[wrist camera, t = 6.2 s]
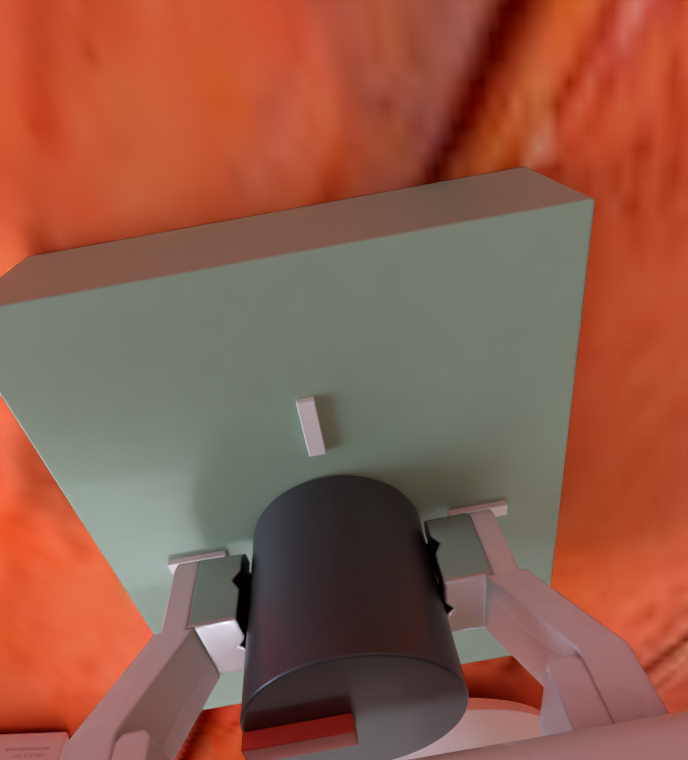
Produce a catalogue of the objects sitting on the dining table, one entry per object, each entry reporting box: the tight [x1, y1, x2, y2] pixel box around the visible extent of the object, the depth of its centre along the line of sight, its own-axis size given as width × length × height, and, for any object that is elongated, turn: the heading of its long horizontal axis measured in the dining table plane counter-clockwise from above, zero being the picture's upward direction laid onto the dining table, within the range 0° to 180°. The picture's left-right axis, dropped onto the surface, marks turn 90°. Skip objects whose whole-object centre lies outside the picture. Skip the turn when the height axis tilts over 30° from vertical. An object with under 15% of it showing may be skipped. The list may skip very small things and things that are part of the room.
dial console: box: [0, 167, 595, 710], centre depth 13 cm, size 14×11×3 cm
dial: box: [240, 475, 469, 760], centre depth 10 cm, size 4×4×4 cm
